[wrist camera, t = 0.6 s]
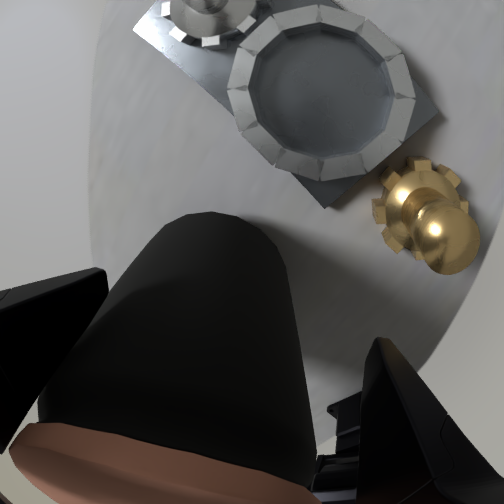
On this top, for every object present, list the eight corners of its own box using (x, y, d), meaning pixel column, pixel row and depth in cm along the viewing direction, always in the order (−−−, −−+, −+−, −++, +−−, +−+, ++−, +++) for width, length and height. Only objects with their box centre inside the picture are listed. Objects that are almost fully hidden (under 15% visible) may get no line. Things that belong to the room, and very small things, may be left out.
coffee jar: (120, 256, 22) (-21, 447, 6) (232, 176, 20) (134, 417, 3) (202, 349, 26) (165, 550, 9) (310, 293, 23) (368, 531, 7)
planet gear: (472, 200, 17) (522, 238, 11) (415, 264, 20) (442, 322, 14) (412, 136, 16) (452, 146, 10) (352, 208, 19) (362, 251, 13)
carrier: (436, 109, 15) (449, 109, 13) (322, 206, 20) (321, 218, 18) (231, -60, 13) (219, -75, 10) (138, 34, 17) (118, 28, 15)
